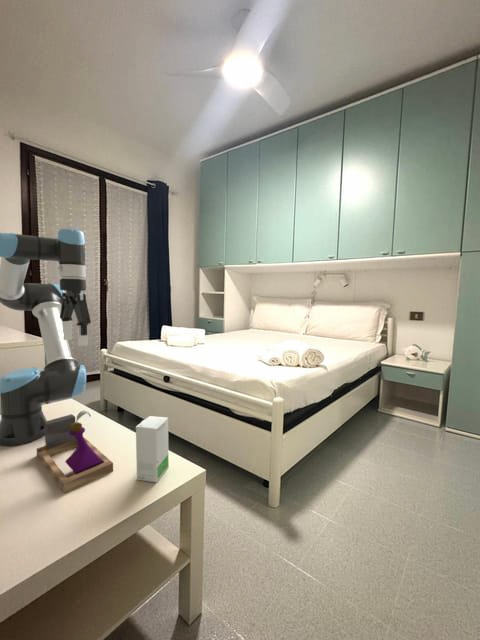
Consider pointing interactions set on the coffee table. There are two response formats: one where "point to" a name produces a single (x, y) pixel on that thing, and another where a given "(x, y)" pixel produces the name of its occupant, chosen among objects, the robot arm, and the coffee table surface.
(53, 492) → the coffee table surface
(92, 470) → the strip frame
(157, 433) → the skincare box
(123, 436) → the coffee table surface
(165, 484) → the coffee table surface
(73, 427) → the perfume bottle
